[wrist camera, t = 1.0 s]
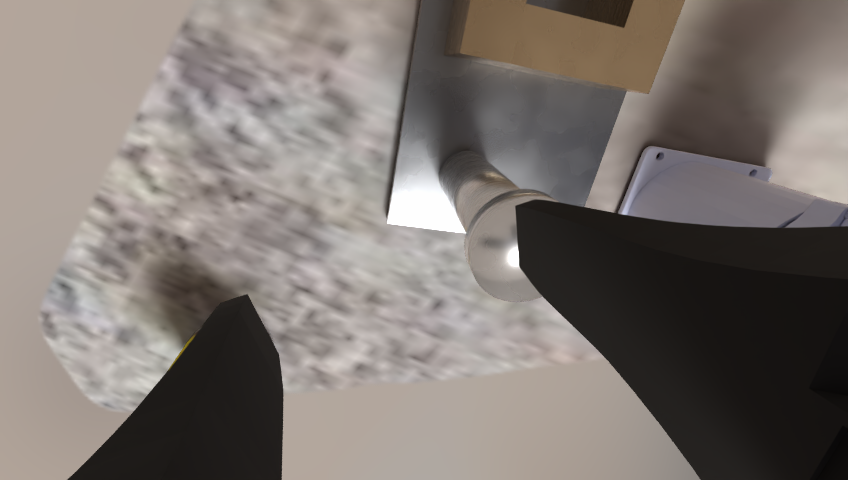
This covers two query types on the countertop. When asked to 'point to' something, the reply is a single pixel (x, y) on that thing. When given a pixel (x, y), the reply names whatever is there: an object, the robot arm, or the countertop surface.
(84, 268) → the countertop surface
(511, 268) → the steel pin
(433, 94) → the clevis base
